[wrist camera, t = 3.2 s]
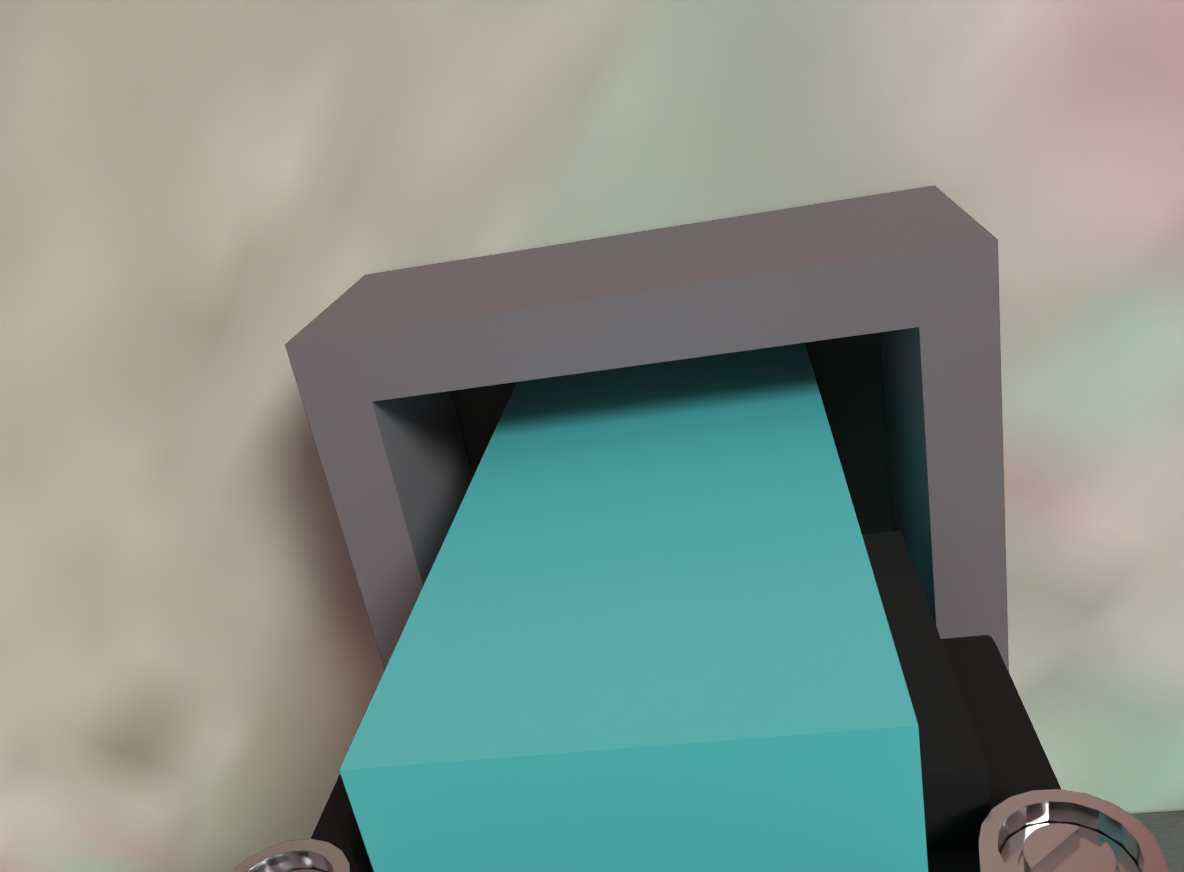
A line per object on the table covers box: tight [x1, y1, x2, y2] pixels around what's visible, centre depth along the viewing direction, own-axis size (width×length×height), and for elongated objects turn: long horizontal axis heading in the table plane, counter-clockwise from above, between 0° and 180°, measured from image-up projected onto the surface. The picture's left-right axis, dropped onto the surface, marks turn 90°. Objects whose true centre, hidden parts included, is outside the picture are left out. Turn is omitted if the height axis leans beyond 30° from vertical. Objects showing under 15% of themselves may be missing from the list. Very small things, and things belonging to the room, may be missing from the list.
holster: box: [285, 186, 1009, 672], centre depth 14 cm, size 8×9×3 cm
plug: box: [339, 343, 928, 872], centre depth 11 cm, size 4×6×10 cm
